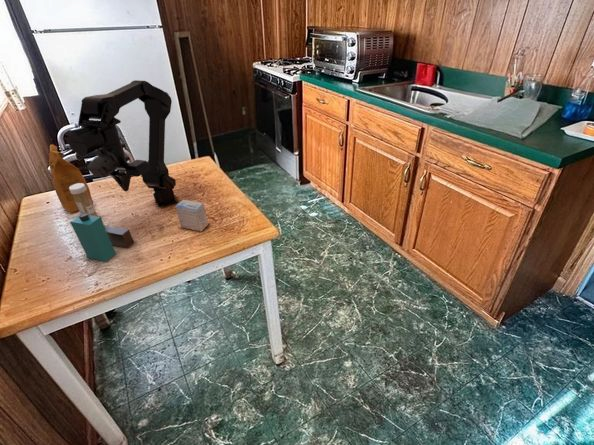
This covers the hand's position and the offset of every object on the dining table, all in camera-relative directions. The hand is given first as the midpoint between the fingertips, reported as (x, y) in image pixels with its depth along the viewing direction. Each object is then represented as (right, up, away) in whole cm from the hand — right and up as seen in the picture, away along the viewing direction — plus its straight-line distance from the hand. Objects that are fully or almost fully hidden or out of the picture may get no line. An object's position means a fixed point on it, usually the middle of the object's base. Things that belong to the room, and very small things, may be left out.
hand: (126, 190), depth 103 cm
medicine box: (+20, -11, +6) cm, 24 cm away
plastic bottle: (-3, -17, -4) cm, 18 cm away
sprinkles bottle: (-17, -9, +10) cm, 22 cm away
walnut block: (-3, -16, -1) cm, 16 cm away
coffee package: (-28, -3, +20) cm, 34 cm away
